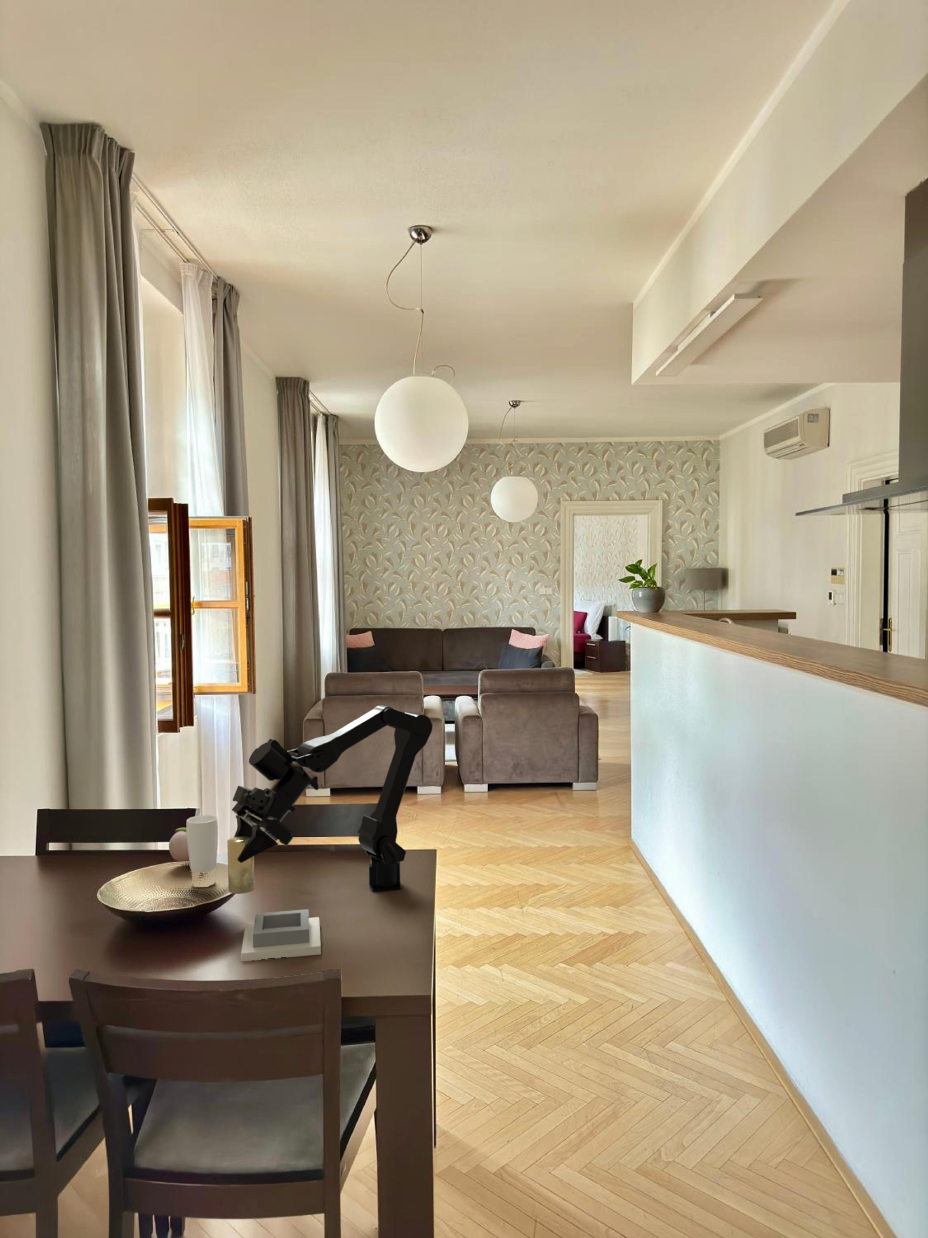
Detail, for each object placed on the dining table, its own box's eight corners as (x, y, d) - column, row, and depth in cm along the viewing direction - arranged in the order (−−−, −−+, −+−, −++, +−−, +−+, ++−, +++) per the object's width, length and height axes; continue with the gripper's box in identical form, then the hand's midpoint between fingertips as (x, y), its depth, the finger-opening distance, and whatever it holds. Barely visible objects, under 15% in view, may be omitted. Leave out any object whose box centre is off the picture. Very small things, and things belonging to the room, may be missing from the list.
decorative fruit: (161, 870, 205) (159, 828, 204) (183, 859, 212) (182, 819, 212) (193, 874, 202) (192, 832, 201) (215, 863, 209) (214, 822, 209)
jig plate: (319, 924, 170) (318, 904, 170) (320, 954, 157) (320, 932, 156) (246, 931, 168) (245, 910, 168) (241, 961, 154) (240, 939, 154)
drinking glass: (200, 892, 189) (198, 824, 189) (181, 886, 194) (179, 820, 193) (225, 883, 195) (223, 817, 194) (207, 877, 199) (205, 813, 198)
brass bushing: (255, 884, 175) (253, 835, 175) (253, 892, 170) (252, 842, 170) (229, 886, 174) (228, 837, 174) (227, 895, 169) (226, 844, 169)
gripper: (239, 763, 181) (189, 824, 175) (276, 778, 166) (221, 846, 160) (276, 794, 186) (227, 855, 180) (314, 812, 171) (263, 879, 165)
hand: (234, 858), depth 171 cm, fingers closed on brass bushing, 5 cm apart
